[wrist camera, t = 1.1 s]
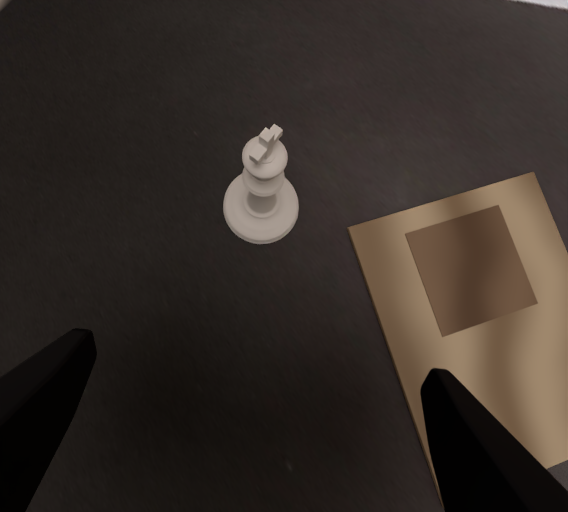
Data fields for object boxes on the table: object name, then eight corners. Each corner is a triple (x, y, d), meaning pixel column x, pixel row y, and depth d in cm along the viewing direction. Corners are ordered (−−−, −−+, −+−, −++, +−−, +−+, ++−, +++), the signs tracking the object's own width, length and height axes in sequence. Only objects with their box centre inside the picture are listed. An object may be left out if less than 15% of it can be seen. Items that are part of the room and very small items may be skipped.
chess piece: (207, 214, 24) (175, 144, 14) (253, 157, 24) (253, 53, 15) (269, 259, 23) (281, 221, 14) (312, 200, 24) (353, 125, 14)
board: (442, 507, 22) (446, 511, 22) (346, 228, 24) (348, 227, 24) (634, 427, 24) (642, 429, 23) (529, 173, 26) (534, 171, 25)
